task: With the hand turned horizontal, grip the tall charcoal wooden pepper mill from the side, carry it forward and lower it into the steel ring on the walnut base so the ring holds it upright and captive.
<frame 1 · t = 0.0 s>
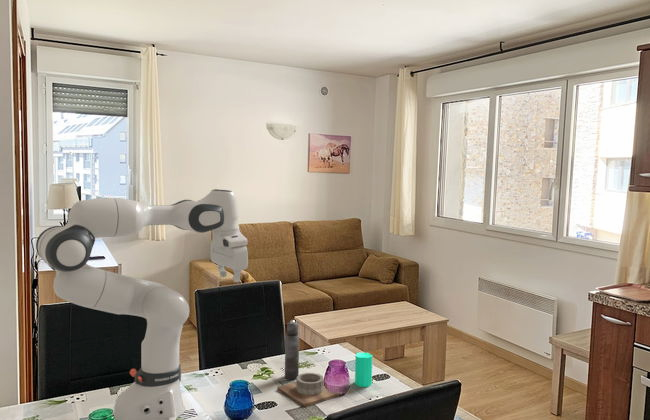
hand: (229, 279, 166), 39 cm above the table, tool pointing down, fingers open, 8 cm apart
candle: (363, 384, 179), on the table
ring holder: (309, 392, 171), on the table
pepper mill: (291, 377, 183), on the table
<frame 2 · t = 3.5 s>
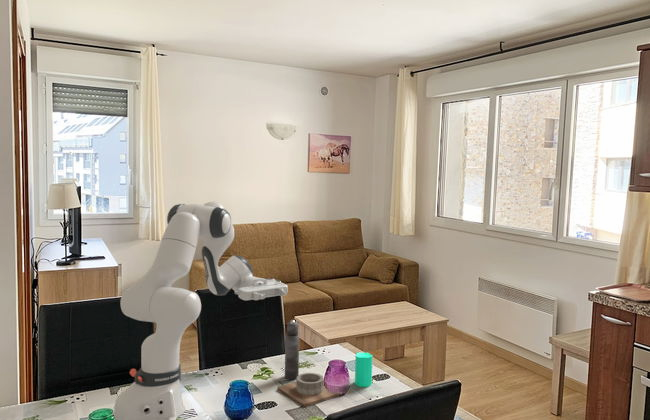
hand: (273, 295, 191), 28 cm above the table, tool horizontal, fingers open, 8 cm apart
nothing on the table moved.
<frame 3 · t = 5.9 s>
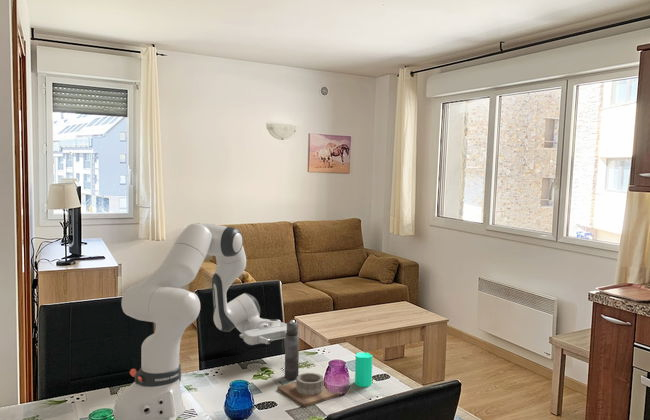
hand: (279, 339, 188), 12 cm above the table, tool horizontal, fingers open, 8 cm apart
nothing on the table moved.
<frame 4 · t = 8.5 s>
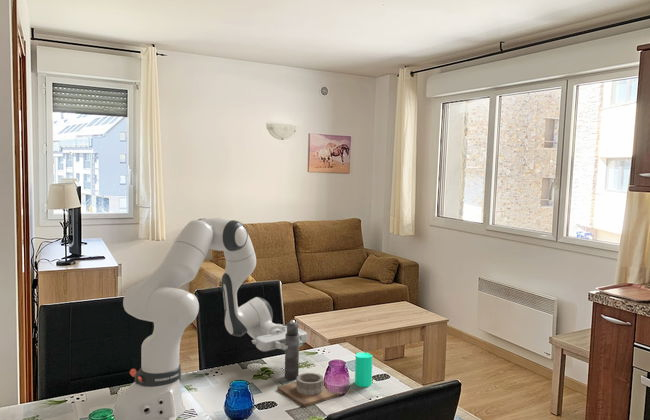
hand: (293, 345, 181), 12 cm above the table, tool horizontal, fingers closed on pepper mill, 5 cm apart
pepper mill: (291, 377, 183), on the table, touching gripper
everything else where it was.
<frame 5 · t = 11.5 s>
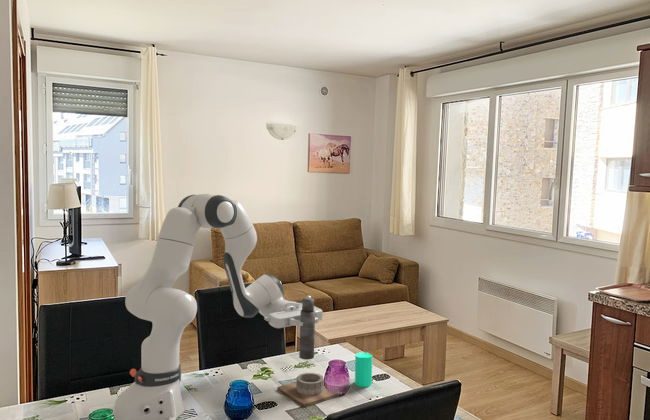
hand: (309, 322, 171), 24 cm above the table, tool horizontal, fingers closed on pepper mill, 5 cm apart
pepper mill: (306, 356, 172), point 12 cm above the table, touching gripper
everything else where it was.
when the fingers open (14 cm above the table, at t = 15.0 s): pepper mill drops 1 cm, resting on ring holder.
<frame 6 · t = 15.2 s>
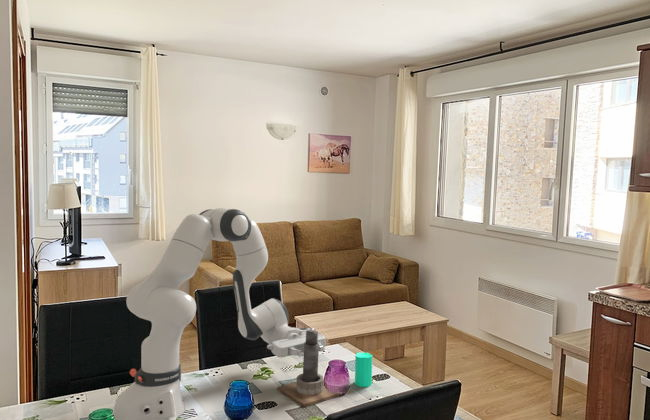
hand: (312, 351, 169), 14 cm above the table, tool horizontal, fingers open, 7 cm apart
pepper mill: (309, 389, 171), point 1 cm above the table, touching ring holder
everything else where it was.
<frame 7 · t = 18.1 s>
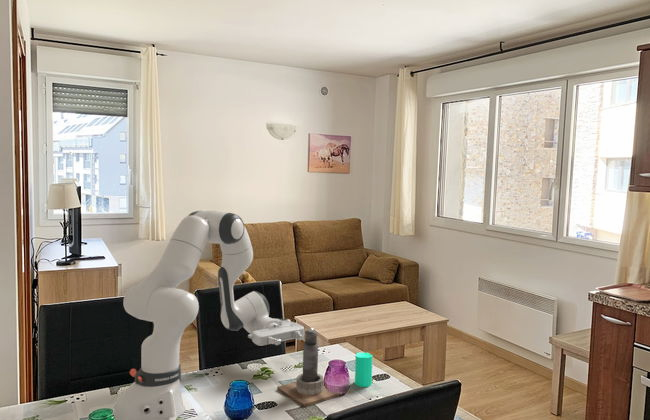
hand: (290, 340, 179), 15 cm above the table, tool horizontal, fingers open, 8 cm apart
nothing on the table moved.
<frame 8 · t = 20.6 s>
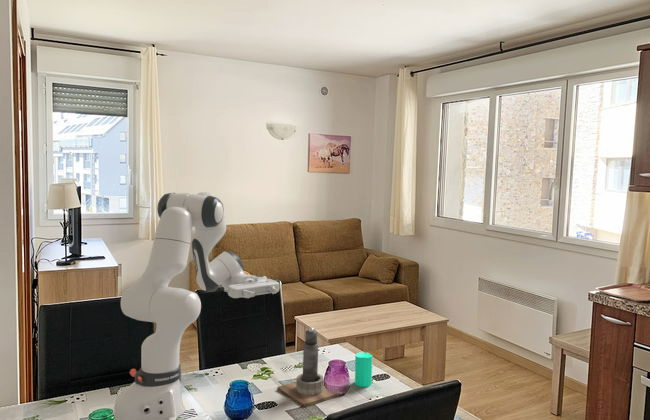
hand: (264, 293, 185), 30 cm above the table, tool horizontal, fingers open, 8 cm apart
nothing on the table moved.
at the end: pepper mill 0.1 cm off-centre on the ring holder, point 1.0 cm above the ring holder's base; pepper mill tilted 1°; the gripper is holding nothing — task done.
